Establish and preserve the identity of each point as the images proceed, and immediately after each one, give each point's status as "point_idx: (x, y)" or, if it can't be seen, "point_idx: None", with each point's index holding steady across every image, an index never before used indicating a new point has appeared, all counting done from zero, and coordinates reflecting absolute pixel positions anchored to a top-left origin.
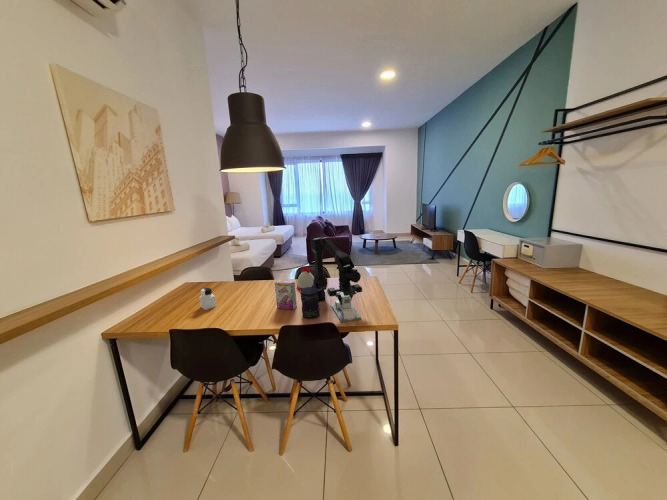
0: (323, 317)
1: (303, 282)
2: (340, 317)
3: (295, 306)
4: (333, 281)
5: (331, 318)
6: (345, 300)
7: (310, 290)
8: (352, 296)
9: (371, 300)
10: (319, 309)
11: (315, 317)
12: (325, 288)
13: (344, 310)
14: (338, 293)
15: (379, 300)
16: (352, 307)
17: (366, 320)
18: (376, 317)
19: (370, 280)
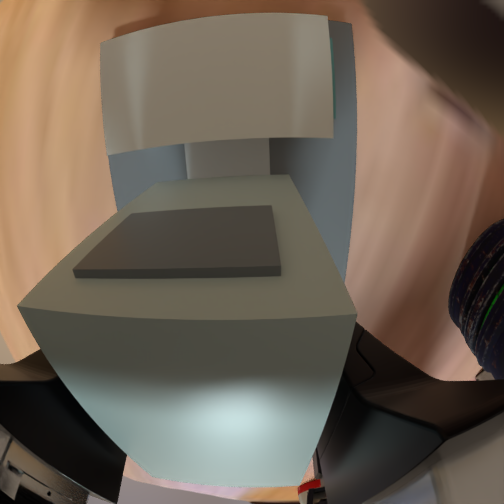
0: (458, 213)
1: None
2: (340, 101)
3: (489, 373)
4: (223, 491)
5: (413, 162)
6: (231, 244)
7: None
8: (33, 356)
9: (37, 347)
10: (487, 293)
11: (502, 225)
12: (314, 494)
13: (292, 101)
14: (502, 497)
15: (5, 327)
16: None
17: (78, 30)
18: (6, 87)
19: None
